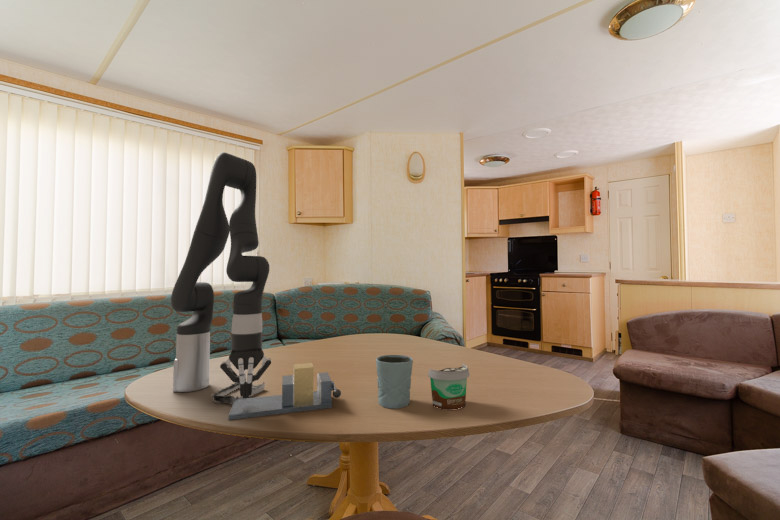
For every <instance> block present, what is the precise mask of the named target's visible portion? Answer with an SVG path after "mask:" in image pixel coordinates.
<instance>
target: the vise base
mask: <svg viewBox="0 0 780 520" xmlns="http://www.w3.org/2000/svg"><path fill="white" fill-rule="evenodd" d="M316 375H317V377H316V378H317V379H316V381H317V382H316V384H317V385H316V390H315V391H314V390H313V401H309V402H300V403H294V405H293V406H284V407H282V394H276V395H267V396H258V397H257V396H256V397H249V398H245V399H236V400H235V401H234V404H232V405H231V408H230V410H229V413H228V421H232V420H233V419H234V420H241V418H242V419H248V418H249V417H250V418H257V417H258V416H259V417H266V415H267V416H274V415H284V414H290V413H299V412H307V411H308V412H309V411H317V410H325V409H332V408H333V402H332V396H333V397H334V398H335V399H338V398H340V397H341V395H342V391H341V390H340V389H339V388H337V386H336V384H335V382H334V381H333V380H332V378H331V377H330V374H329V372H327V371H325V372H318V373H317V374H316ZM259 417H258V418H259ZM250 418H249V419H250Z"/></svg>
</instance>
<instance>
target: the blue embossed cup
mask: <svg viewBox="0 0 780 520" xmlns="http://www.w3.org/2000/svg"><path fill="white" fill-rule="evenodd" d="M375 362H376V363H375V365H376V374H377V378H376V380H377V381H376V382H377V389H378V391H377V397H378V400H377V401H378V405H379V406H381V407H383V408H386V409H391V410H392V409H403V408H406V407H407V406H409V405H408V404H410V400H411V399H410V398H411V391H410V390H411V386H412V385H411V383H412V375H413V374H412V372H413V362H414V360H413V357H411V356H407V355H403V354H386V355H385V354H384V355H380V356H377V357H376V358H375ZM405 406H406V407H405Z"/></svg>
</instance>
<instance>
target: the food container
mask: <svg viewBox="0 0 780 520" xmlns="http://www.w3.org/2000/svg"><path fill="white" fill-rule="evenodd" d="M427 373H428V375H427V377H428V378H430V379H429V380H430V389H431V399H432V406H435V407H438V408H441V409H440V410H443V409H458V408H461V407H463V406H464V405H465V406H466V398H467V397H466V396H467V386H468V385H467V383H468V382H467V381H468V378H469V377H470V376H471V375H470V370H469V368H468V365H466V364H465V363H462V365H461V366H459V367H445V368H443V369H440V370H437V369H436V370H435V369H432V368H429V371H428V372H427ZM435 407H434V408H435ZM438 408H437V409H438ZM463 408H464V407H463Z"/></svg>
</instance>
